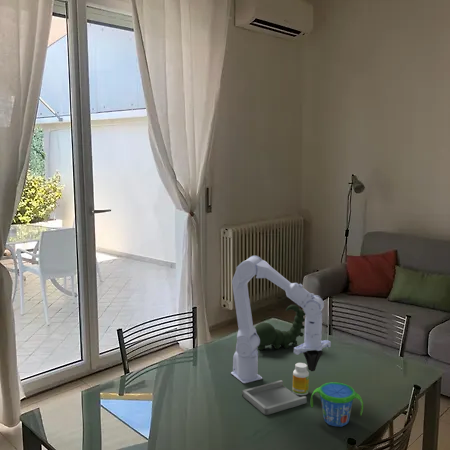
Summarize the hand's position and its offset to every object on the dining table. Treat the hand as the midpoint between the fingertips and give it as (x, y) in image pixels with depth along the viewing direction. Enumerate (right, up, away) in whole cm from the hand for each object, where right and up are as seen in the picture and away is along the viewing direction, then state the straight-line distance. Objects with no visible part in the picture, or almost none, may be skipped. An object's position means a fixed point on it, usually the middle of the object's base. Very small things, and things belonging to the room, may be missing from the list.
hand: (311, 370), depth 173 cm
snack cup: (+4, -10, -19) cm, 22 cm away
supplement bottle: (-4, -7, -1) cm, 8 cm away
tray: (-14, -8, -7) cm, 17 cm away
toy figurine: (-9, -1, +37) cm, 38 cm away
